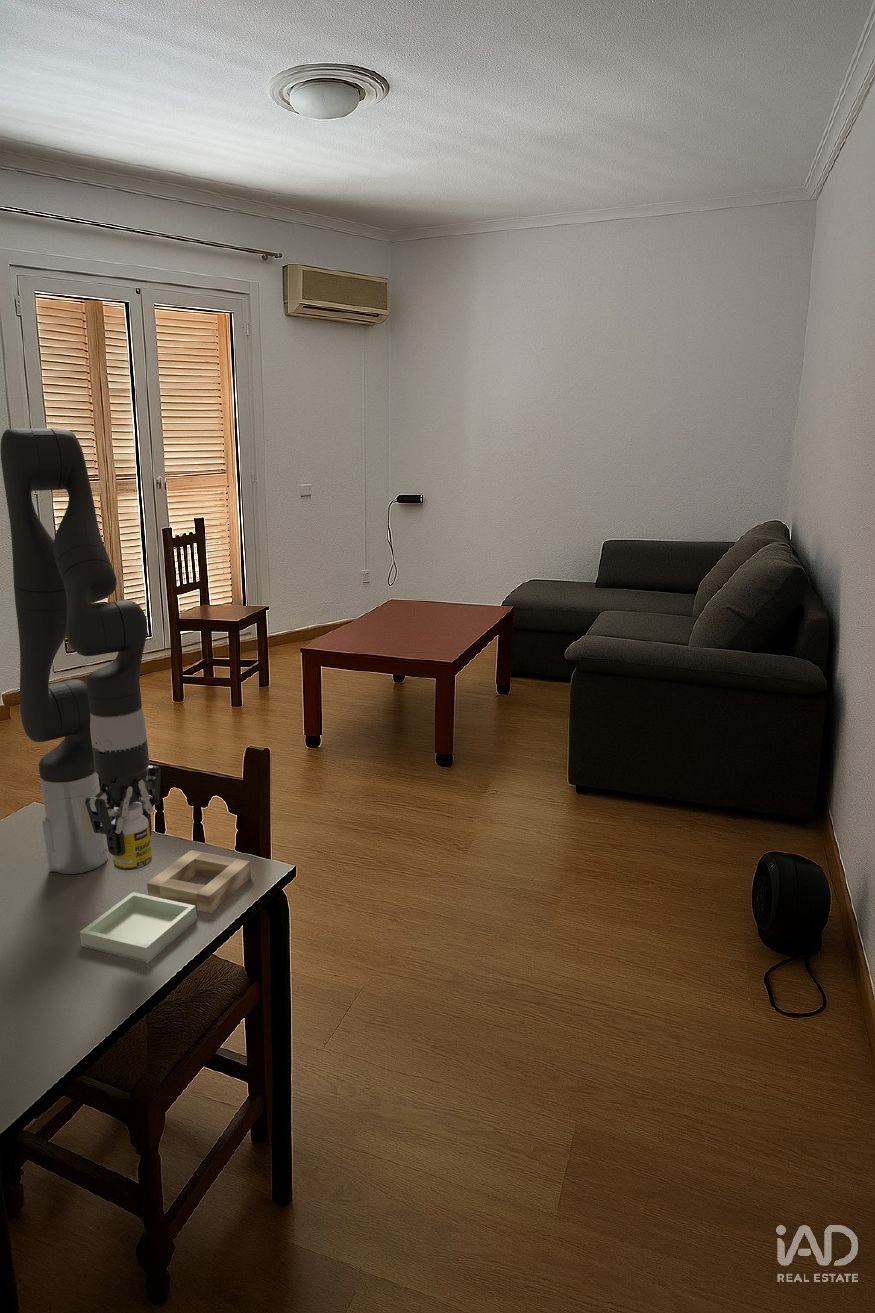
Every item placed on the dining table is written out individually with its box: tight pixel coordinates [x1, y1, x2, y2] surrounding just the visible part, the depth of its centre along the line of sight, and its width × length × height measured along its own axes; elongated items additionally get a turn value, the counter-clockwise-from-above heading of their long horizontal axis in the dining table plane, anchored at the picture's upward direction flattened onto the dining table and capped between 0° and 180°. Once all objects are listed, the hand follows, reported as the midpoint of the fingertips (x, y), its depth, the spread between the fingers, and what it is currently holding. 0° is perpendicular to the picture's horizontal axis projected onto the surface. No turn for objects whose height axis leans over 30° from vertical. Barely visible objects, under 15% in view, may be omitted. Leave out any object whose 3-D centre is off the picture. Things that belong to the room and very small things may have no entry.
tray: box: [79, 891, 198, 964], centre depth 134 cm, size 12×12×2 cm
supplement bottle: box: [111, 801, 153, 874], centre depth 130 cm, size 5×5×10 cm
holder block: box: [146, 849, 252, 914], centre depth 147 cm, size 12×12×3 cm
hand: (131, 844), depth 131 cm, fingers closed on supplement bottle, 5 cm apart
